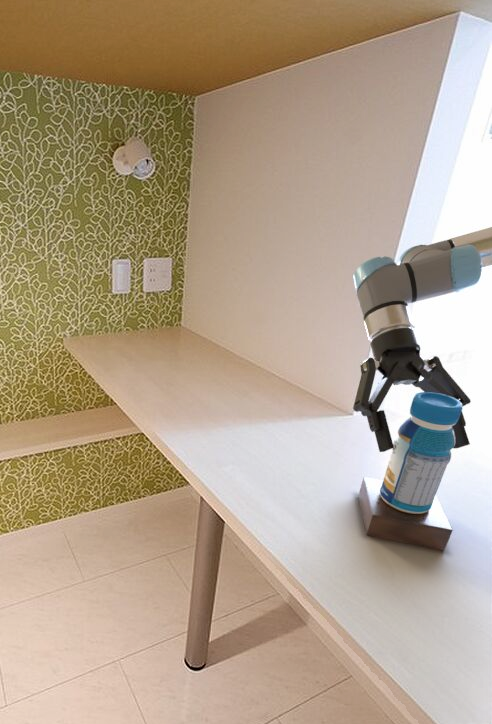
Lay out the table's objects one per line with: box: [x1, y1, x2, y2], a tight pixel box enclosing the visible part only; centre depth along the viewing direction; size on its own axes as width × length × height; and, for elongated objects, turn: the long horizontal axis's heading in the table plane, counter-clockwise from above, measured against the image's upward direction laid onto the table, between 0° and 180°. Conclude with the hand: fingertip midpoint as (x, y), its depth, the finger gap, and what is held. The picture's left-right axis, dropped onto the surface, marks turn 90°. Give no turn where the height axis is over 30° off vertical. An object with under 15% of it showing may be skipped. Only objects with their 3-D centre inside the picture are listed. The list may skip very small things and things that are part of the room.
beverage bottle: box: [380, 391, 464, 514], centre depth 74 cm, size 8×8×20 cm
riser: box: [357, 476, 454, 552], centre depth 79 cm, size 12×12×4 cm
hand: (424, 448), depth 73 cm, fingers open, 13 cm apart
